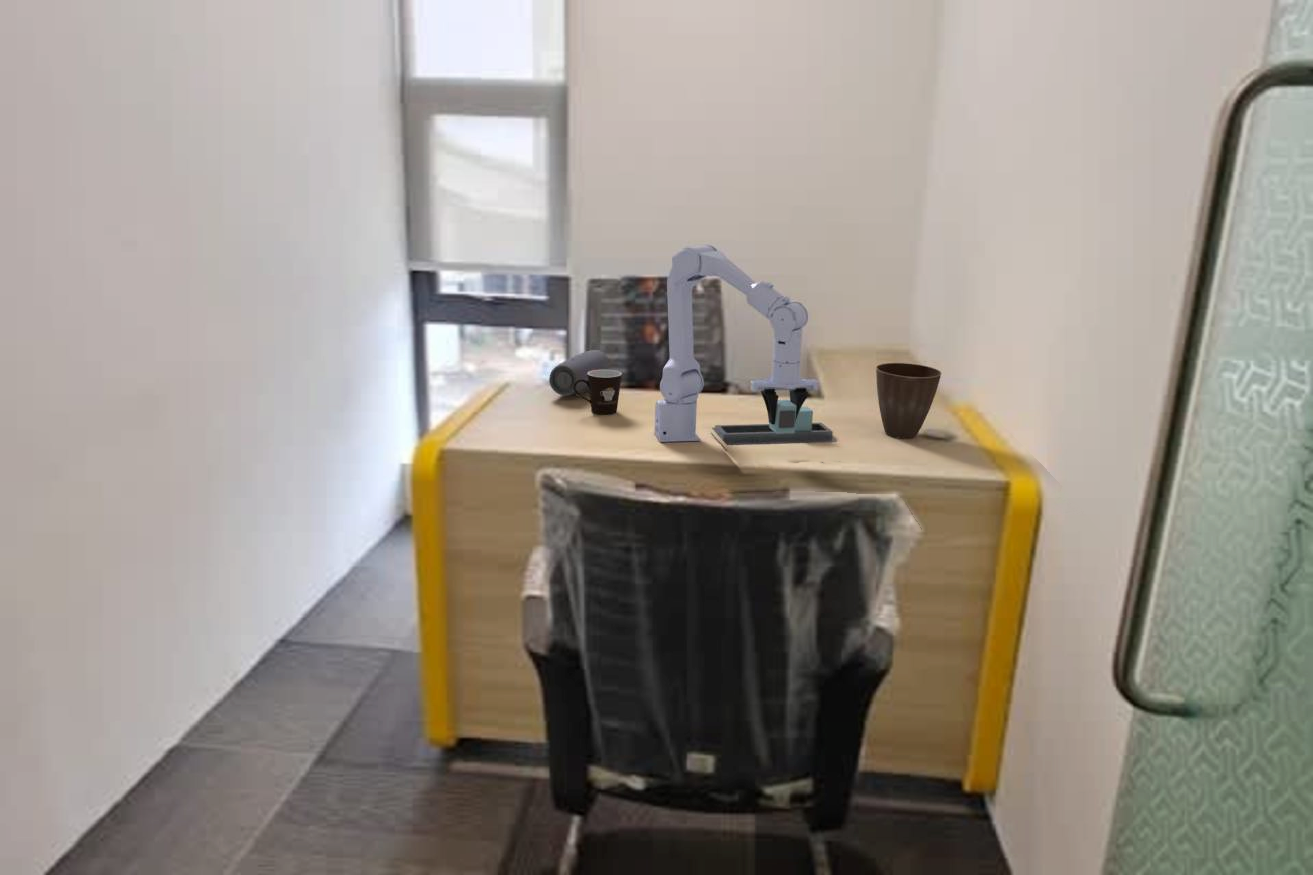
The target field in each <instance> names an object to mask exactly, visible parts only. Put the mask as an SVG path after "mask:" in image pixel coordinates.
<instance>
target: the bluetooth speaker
mask: <svg viewBox="0 0 1313 875" xmlns="http://www.w3.org/2000/svg"><path fill="white" fill-rule="evenodd" d="M610 365H611V364H610V361H609V358H608V356H607V355H606V354H605V353H604V352H603V351H601V350H599V349H592V350H587V351H585V352H581V353H578V354H575V355H574V356H571V357H569V358H567V359H566V360H564V361H562V362H561V363H559V364H558V365H556V366H555V367H554V368H552V370H551V372H550V375H549V378H548V380H549V385H550V388H551V389H552V390H553V392H554V393H556V394H558V395H559V396H564V397H565V396H579V395H578V394H577V393H576V392H575V391H574V389H573V386H574V383H575V382H576V381H577V380H580V379H584V380H586V381H588V374H587V373H588V372H589V371H593V370H610ZM576 391H577V392H578V393H579V394H580V395H582V394H584V393H585V392H587V391H589V387H588V386H587V384H586V383H585V382H579V383H577V384H576Z"/></svg>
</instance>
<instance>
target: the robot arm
mask: <svg viewBox="0 0 1313 875" xmlns="http://www.w3.org/2000/svg"><path fill="white" fill-rule="evenodd" d="M706 277H718V278H719V279H722V280H723V281H724V282H726V283H727V284H728V285H730V286H732V287H734V288H735V289H736V290H737V291H739V292H740V293H742V294H744V295H745V296H746V303H747V305H749V306H750V307H751V308H753V309H754V310H756V311H757V312H758V313H759V314H761V315H762V316H763V317H765V318H766V319H767V320H768V321H769V323H770V325H771V328H772V330H773V332H774V333H773V337H774V339H773V351H772V352H773V353H772V354H773V355H772V364H771V365H772V367H771V368H772V369H771V378H768V379H757V380H750V388H749V389H750V390H751V392H753V393H757V392H758V391H759V392H760V394H761V396H762V399H763V401H764V403H765V404H764V405H765V407H766V410H767V416H768V424H769V423H771V424H775V419H776V406H777V401H778V400H779V397H780V396H779V395H778V394H777V391H789V401H791V402H792V403H793V404H795V405H796V419H797V416H798V413H799V411H800V408H801V407H803V405H804V403H805V401H806V400H807V399H808V396H809V392H808V390H812V391H818V390H819V383H820V382H819V380H817V379H816V378H815V379H813V378H812V379H807V378H806V379H805V378H800V366H801V354H802V341H803V340H802V338H803V328H804V327H805V326H806V325H807V324H808V320H809V313H808V310H807V309H806V307H805V306H804V305H803V303H801V302H799V301H791V298H790V297H789V296H784V295H783V294H782V293H780V292H779V291H778V290H776V289H775V288H773V287H774V285H773V283H772V282H770V281H768V282H765V281H758V282H757V281H755V280H754V279H752V278H751V276H749V275H748V274H746V272H744V271H743V270H742V269H741V268H740V267H738V266H737V265H736V264H735V263H734V262H733V261H731V260H730V259H729V258H728V257H727V256H726V254H725V253H724V252H723V251H721V250H718V249H717V247H715V246H713V245H711V244H705V245H701V246H692V247H689V246H685V247H682V248H681V249H679V250H678V251H677V252H676V253H675V254H674V255H673V256H672V257H671V268H670V272H669V274H668V276H667V280H666V288H667V289H666V291H667V292H666V294H667V295H666V296H667V297H666V298H667V318H668V345H669V346H668V347H669V348H668V349H669V359H668V360H667V362H666V364H665V365H664V367H663V369H662V378H661V381H660V383H659V391H660V393H661V395H662V397H663V398H664V399H660V400H656V401H655V407H654V408H655V409H654V430H653V433H654V434H655V436H656V438H657V439H658V441H659V442H660V443H664V442H665V443H666V442H667V443H668V442H671V443H672V442H694V441H697V442H699V441H701V437H699V435H698V434H697V433H696V431H697V410H698V409H697V408H698V399H699V394H700V393H701V392H702V390H703V389H704V386H705V385H704V383H705V382H704V377H703V375H702V373H701V365H700V363H699V362H698V360H697V359H695V358H694V357H695V356H694V355H695V354H694V351H695V350H694V325H693V324H694V322H693V319H694V318H693V288H694V287H695V286H696V285H697V284H698V283H699V282H700V281H702V279H703V278H706ZM796 419H795V422H796Z"/></svg>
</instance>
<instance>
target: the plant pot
mask: <svg viewBox="0 0 1313 875" xmlns="http://www.w3.org/2000/svg"><path fill="white" fill-rule="evenodd" d="M875 373H876V376H875V377H876V390H877V391H876V392H877V402H878V406H879V413H880V418H881V422H882V426H883V430H884V433H885V435H887V436H890V437H892V438H896V437H899V438H898V439H904V438H909V439H911V438H910V437H914V438H916V437H917V436H918V434H919V433H920V430H921V429H922V426H923V425H924V422H925V421H926V418H927V416H928V414H929V412H930V409H931V408H932V404H933V402H934V399H935V396H936V393H937V390H938V387H939V384H940V380H941V378H942V377H941V376H942V371H940V370H939V369H937V368H934V367H931V366H927V365H921V364H916V363H906V362H904V363H903V362H888V363H881V364H878V365H877V366H876V367H875ZM915 436H916V437H915Z"/></svg>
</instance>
